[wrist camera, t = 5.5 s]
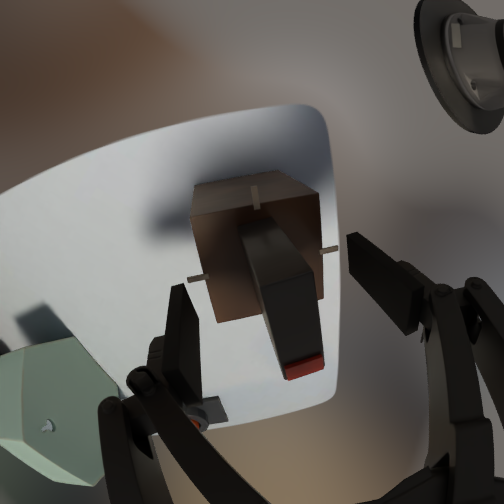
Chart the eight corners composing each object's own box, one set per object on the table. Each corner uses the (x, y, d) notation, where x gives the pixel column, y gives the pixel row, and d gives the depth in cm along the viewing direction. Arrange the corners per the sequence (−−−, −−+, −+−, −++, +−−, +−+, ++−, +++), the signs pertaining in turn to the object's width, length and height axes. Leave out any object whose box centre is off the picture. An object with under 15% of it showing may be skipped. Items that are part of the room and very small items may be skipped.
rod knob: (236, 226, 17) (260, 290, 10) (271, 215, 17) (316, 273, 10) (259, 304, 19) (285, 384, 13) (289, 295, 20) (327, 370, 13)
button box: (218, 396, 38) (219, 409, 36) (227, 418, 41) (229, 430, 39) (144, 405, 37) (143, 417, 34) (160, 426, 40) (160, 437, 37)
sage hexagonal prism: (62, 342, 35) (-38, 363, 14) (96, 331, 35) (-14, 353, 14) (104, 437, 33) (30, 499, 12) (141, 434, 33) (70, 511, 12)
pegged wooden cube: (288, 156, 25) (335, 173, 16) (298, 253, 30) (337, 307, 21) (180, 176, 25) (166, 204, 15) (203, 273, 29) (206, 339, 20)
